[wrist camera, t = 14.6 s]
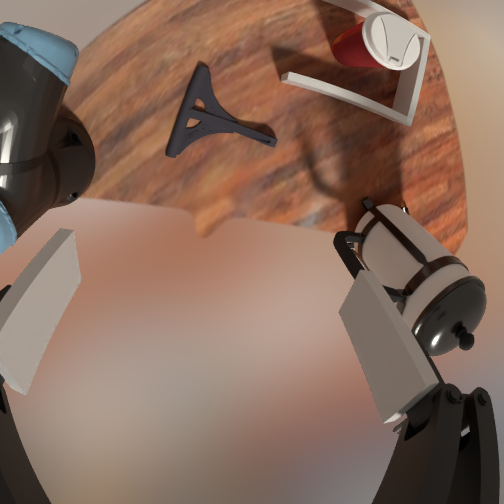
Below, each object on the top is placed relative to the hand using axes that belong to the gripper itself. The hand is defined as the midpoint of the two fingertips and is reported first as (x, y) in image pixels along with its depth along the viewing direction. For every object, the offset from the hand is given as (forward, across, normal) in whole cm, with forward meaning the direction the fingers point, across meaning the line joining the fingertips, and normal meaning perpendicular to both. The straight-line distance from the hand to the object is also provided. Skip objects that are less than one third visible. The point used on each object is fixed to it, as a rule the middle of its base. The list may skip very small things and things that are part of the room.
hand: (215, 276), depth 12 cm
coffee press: (+32, +29, -9) cm, 44 cm away
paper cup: (+32, +15, +20) cm, 40 cm away
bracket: (+33, 0, +3) cm, 33 cm away
